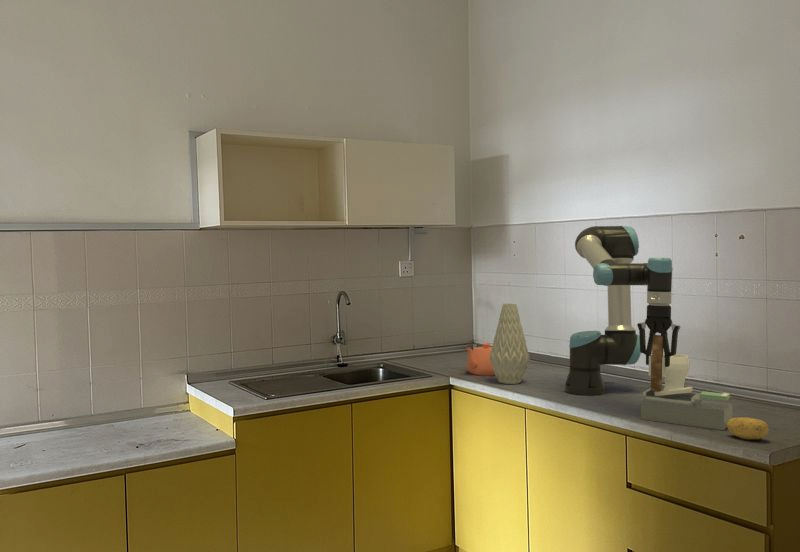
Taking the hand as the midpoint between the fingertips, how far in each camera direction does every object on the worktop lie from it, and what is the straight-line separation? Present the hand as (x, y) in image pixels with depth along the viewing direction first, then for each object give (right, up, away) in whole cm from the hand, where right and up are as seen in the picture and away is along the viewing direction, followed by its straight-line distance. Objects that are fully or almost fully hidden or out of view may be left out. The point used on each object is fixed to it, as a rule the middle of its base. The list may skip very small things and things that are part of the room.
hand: (657, 375), depth 233 cm
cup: (+20, -13, +37) cm, 44 cm away
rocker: (+4, -5, -2) cm, 7 cm away
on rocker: (+15, -5, -10) cm, 18 cm away
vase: (-39, -12, +63) cm, 75 cm away
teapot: (-47, -11, +85) cm, 98 cm away
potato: (+16, -15, -27) cm, 35 cm away
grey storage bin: (+8, -14, -4) cm, 16 cm away
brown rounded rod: (-1, -5, 0) cm, 5 cm away
